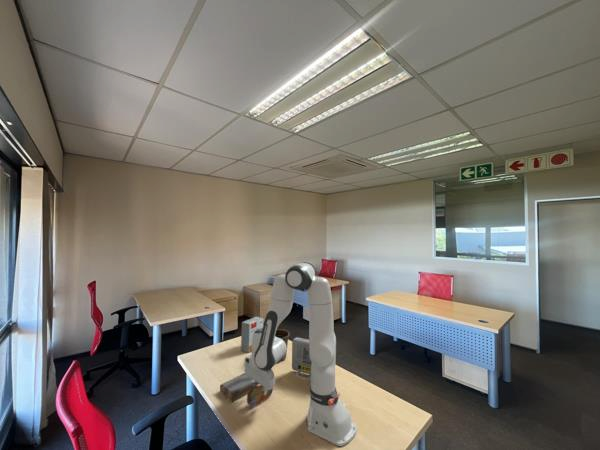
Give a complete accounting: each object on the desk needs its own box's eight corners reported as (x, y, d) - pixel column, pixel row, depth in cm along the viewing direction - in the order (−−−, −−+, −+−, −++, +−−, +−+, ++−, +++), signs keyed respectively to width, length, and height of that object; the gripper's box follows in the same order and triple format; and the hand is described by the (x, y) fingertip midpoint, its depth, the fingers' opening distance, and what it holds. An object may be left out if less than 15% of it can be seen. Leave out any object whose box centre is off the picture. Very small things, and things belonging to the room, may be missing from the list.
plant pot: (273, 350, 178) (273, 327, 178) (293, 355, 170) (293, 331, 171) (260, 360, 163) (260, 335, 163) (281, 366, 156) (281, 340, 156)
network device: (335, 378, 144) (335, 343, 144) (331, 386, 136) (331, 349, 136) (296, 367, 154) (296, 335, 155) (289, 375, 146) (290, 340, 147)
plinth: (264, 384, 137) (264, 377, 137) (232, 402, 122) (232, 394, 122) (251, 376, 145) (251, 369, 145) (220, 391, 130) (220, 384, 130)
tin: (249, 411, 117) (249, 392, 117) (245, 407, 119) (245, 389, 119) (273, 395, 128) (273, 379, 128) (269, 393, 130) (269, 376, 130)
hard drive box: (248, 353, 172) (248, 324, 173) (240, 350, 176) (241, 322, 177) (263, 345, 185) (263, 318, 186) (255, 342, 189) (256, 316, 190)
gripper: (278, 367, 119) (277, 396, 119) (252, 352, 133) (251, 378, 133) (268, 372, 115) (267, 403, 114) (242, 356, 128) (241, 383, 128)
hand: (258, 389), depth 124 cm, fingers open, 8 cm apart
